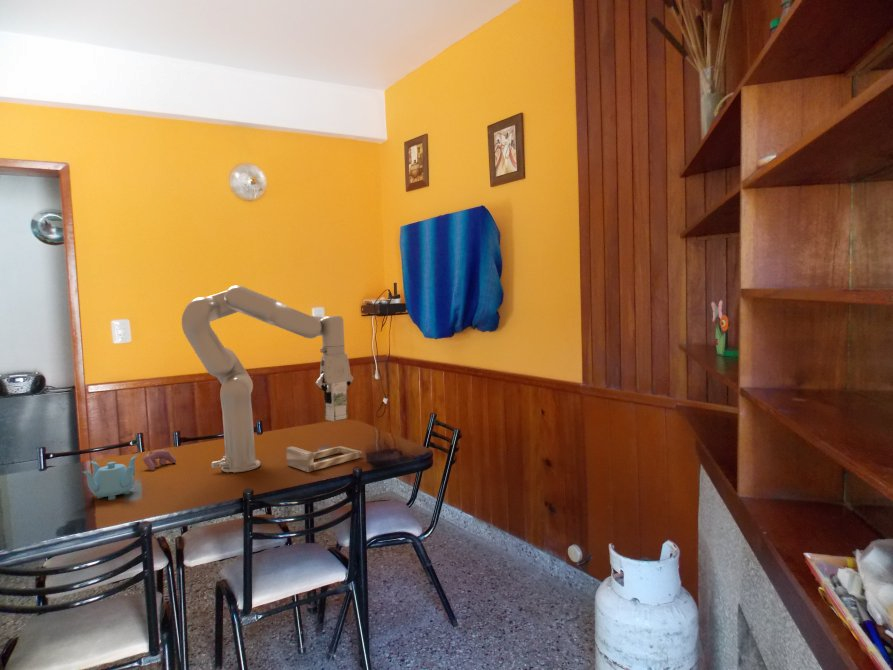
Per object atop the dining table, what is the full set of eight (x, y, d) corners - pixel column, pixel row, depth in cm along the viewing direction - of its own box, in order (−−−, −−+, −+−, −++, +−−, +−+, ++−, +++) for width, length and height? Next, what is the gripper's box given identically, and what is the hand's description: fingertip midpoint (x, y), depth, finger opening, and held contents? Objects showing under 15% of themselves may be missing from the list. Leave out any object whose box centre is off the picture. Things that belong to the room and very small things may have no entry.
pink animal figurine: (171, 466, 207) (164, 449, 208) (178, 462, 204) (171, 444, 206) (145, 474, 198) (138, 456, 199) (153, 470, 196) (145, 451, 197)
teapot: (94, 492, 176) (91, 460, 175) (142, 485, 181) (139, 454, 180) (84, 505, 164) (81, 471, 163) (136, 498, 169) (133, 464, 168)
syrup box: (338, 417, 207) (336, 377, 206) (348, 419, 203) (346, 378, 202) (325, 419, 203) (323, 379, 202) (334, 422, 199) (332, 380, 198)
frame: (307, 472, 187) (306, 454, 186) (287, 465, 196) (286, 447, 195) (362, 456, 202) (361, 440, 202) (340, 451, 211) (339, 435, 211)
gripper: (318, 353, 193) (320, 406, 194) (360, 349, 205) (362, 399, 206) (306, 352, 198) (309, 404, 199) (347, 348, 210) (349, 397, 211)
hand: (336, 401), depth 202 cm, fingers closed on syrup box, 5 cm apart
